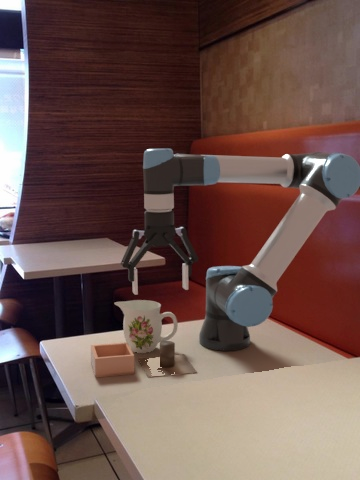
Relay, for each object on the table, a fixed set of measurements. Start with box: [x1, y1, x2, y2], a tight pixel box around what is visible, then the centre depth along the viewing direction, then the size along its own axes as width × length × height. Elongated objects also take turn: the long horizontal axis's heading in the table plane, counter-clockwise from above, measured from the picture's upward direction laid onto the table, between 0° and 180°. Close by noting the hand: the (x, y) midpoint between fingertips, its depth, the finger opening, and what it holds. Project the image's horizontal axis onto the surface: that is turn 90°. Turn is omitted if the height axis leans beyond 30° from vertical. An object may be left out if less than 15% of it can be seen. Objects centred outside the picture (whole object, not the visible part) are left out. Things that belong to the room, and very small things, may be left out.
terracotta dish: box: [90, 342, 135, 378], centre depth 155 cm, size 10×10×5 cm
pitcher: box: [114, 299, 178, 354], centre depth 169 cm, size 11×18×14 cm, turn 92°
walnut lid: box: [137, 340, 198, 378], centre depth 157 cm, size 13×13×7 cm
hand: (160, 291), depth 154 cm, fingers open, 13 cm apart
